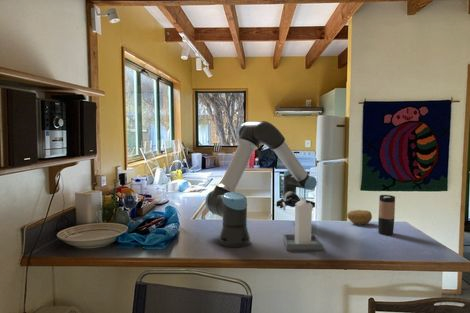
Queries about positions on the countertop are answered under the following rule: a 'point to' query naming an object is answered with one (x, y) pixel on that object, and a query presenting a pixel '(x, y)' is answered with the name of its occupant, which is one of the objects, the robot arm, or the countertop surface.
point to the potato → (359, 216)
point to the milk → (303, 222)
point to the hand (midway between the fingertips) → (298, 208)
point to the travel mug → (386, 214)
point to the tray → (292, 246)
